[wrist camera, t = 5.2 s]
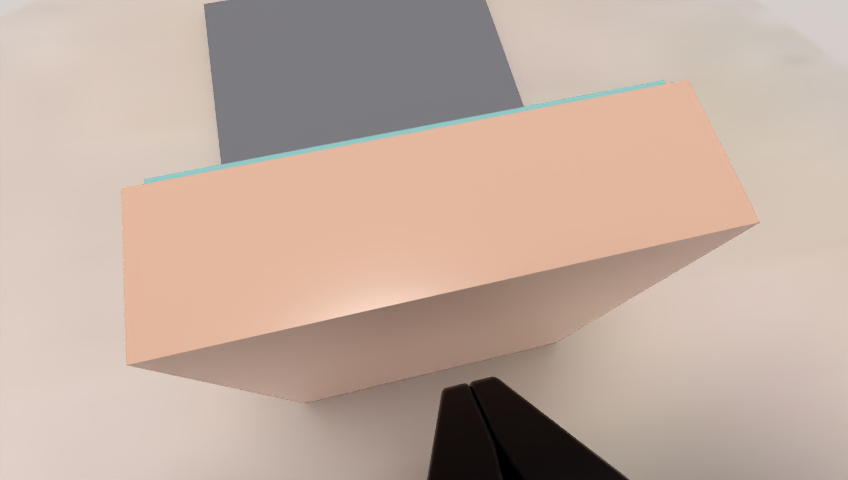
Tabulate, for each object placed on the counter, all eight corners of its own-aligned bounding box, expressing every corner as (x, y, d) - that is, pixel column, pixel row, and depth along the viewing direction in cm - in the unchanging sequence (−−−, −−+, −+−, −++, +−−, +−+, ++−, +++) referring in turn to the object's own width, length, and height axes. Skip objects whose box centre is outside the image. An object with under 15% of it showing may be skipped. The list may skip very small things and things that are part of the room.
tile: (555, 342, 16) (760, 222, 6) (304, 403, 15) (126, 364, 6) (531, 269, 17) (683, 68, 7) (292, 323, 16) (120, 174, 7)
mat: (570, 251, 17) (574, 247, 17) (242, 324, 16) (238, 322, 15) (470, -31, 21) (471, -39, 21) (207, 12, 20) (203, 4, 20)
